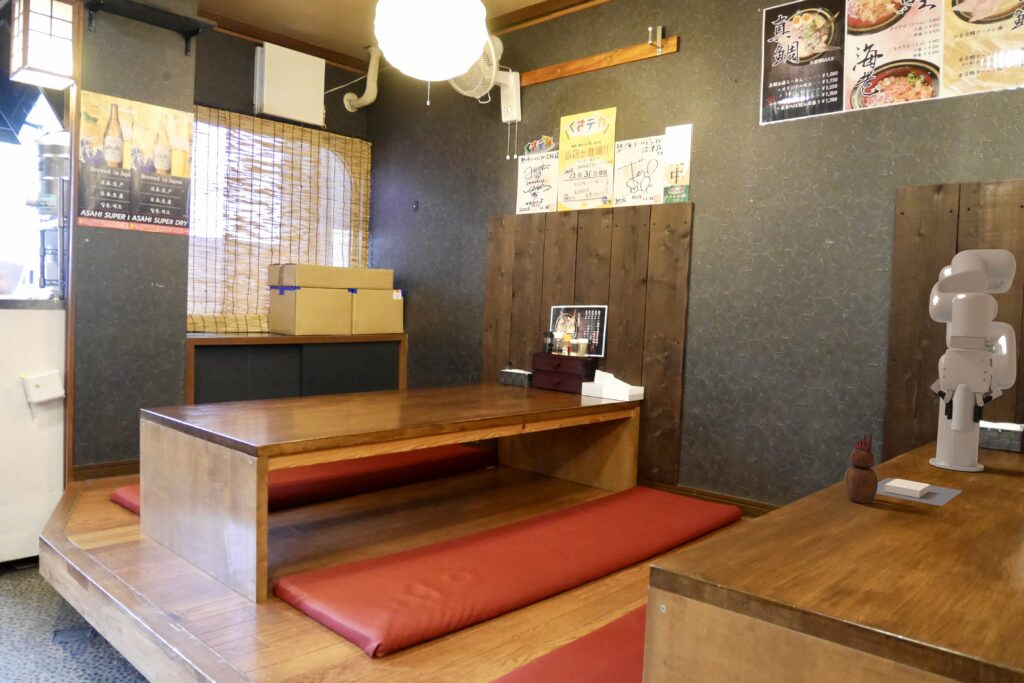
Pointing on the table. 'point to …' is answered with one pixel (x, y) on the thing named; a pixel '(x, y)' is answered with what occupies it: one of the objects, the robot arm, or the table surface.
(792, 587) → the table surface
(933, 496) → the mat
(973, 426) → the beverage can
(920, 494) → the tile
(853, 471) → the wooden figurine
